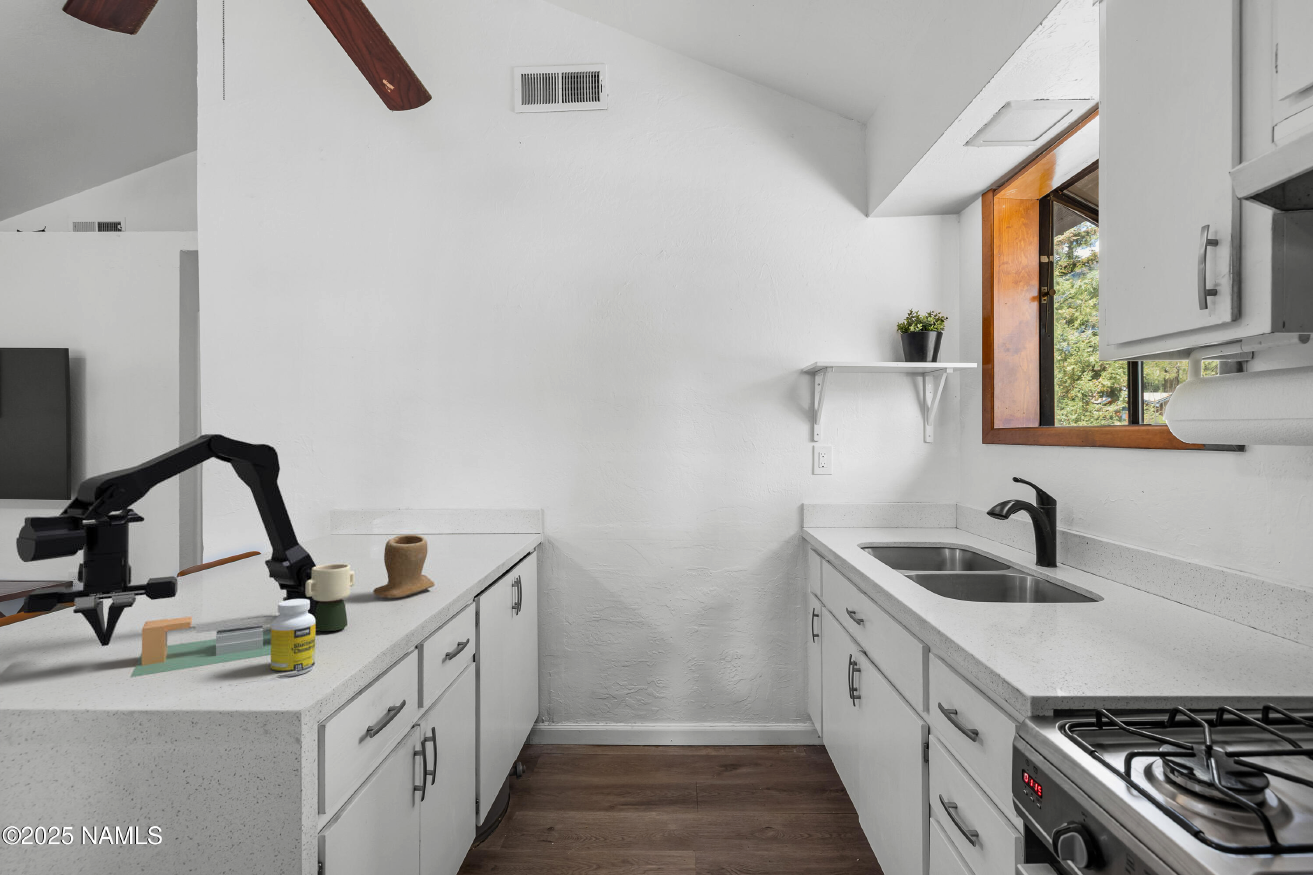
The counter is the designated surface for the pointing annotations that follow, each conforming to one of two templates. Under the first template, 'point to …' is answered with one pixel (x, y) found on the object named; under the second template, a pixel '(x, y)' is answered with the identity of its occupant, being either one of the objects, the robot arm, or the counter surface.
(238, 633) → the heatsink board
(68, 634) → the counter surface
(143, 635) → the orange stepped block
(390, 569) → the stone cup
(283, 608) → the pill bottle
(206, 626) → the flat grey bar
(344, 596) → the character mug
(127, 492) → the robot arm
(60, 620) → the counter surface
